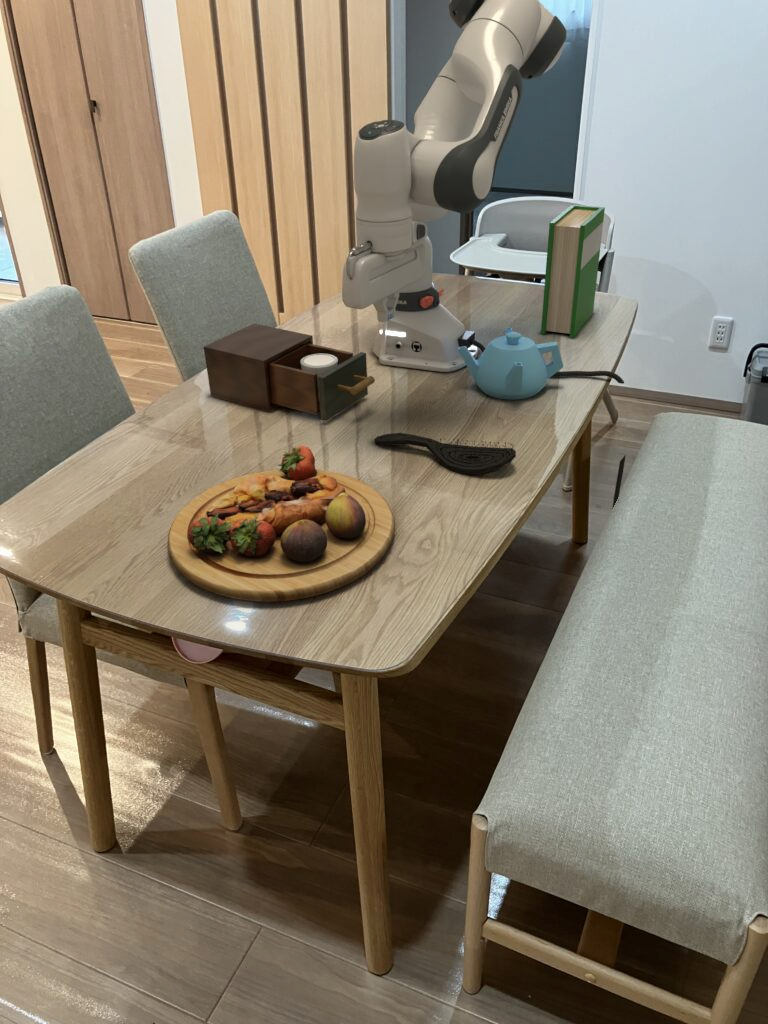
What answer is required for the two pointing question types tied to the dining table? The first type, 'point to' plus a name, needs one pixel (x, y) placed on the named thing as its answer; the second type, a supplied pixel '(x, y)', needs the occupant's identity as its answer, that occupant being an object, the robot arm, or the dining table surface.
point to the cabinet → (248, 363)
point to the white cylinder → (319, 364)
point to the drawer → (334, 385)
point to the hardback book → (572, 269)
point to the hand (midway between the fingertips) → (386, 319)
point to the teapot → (512, 366)
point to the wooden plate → (281, 532)
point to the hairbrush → (455, 453)
